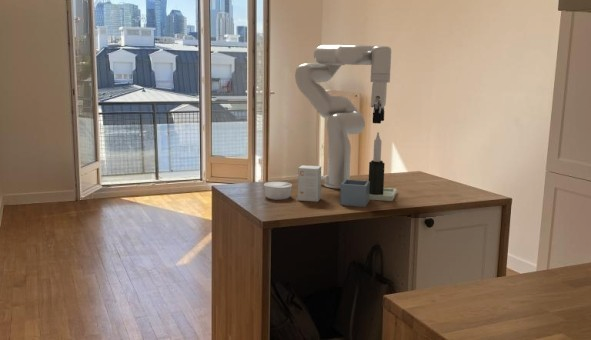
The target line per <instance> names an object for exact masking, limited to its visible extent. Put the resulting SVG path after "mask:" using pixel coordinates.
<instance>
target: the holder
mask: <svg viewBox="0 0 591 340" xmlns="http://www.w3.org/2000/svg"><path fill="white" fill-rule="evenodd" d="M369 193H370V181H369V180H363V179H362V180H360V179H358V180H357V179H350V180H348V179H345V180H344V181H343V182H342V183H341V189H340V198H339V201H340V203H339V205H340V206H350V207H351V206H352V207H363V208H364V207H365V208H366V207H367V205H368V204H369V202H370V199H369Z"/></svg>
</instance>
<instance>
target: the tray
mask: <svg viewBox="0 0 591 340" xmlns="http://www.w3.org/2000/svg"><path fill="white" fill-rule="evenodd" d="M396 195H397V188H389V187H384V189H383V195H371V194H369V201H370V200H371V201H386V202H393V201H394V199H395V197H396Z"/></svg>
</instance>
